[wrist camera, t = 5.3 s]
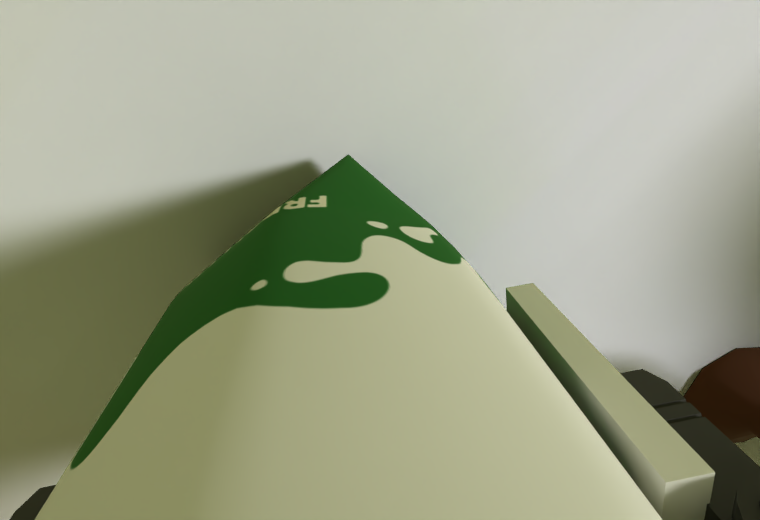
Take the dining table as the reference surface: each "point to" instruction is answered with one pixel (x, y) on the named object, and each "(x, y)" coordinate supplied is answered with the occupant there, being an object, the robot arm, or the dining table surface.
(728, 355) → the ice cream bowl
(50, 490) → the robot arm
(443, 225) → the dining table surface
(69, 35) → the dining table surface
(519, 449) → the soya milk
